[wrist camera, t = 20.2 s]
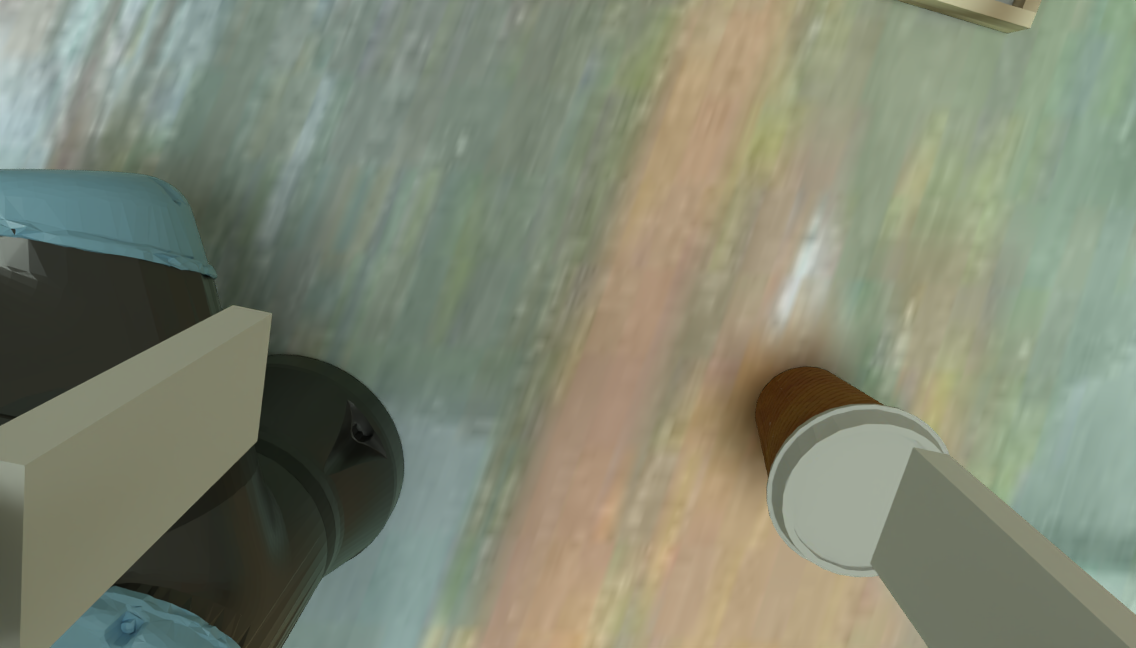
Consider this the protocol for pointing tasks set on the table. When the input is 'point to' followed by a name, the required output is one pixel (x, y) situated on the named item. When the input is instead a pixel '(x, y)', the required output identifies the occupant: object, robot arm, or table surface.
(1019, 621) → the robot arm
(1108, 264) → the table surface
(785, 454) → the disposable coffee cup
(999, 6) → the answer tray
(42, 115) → the table surface
